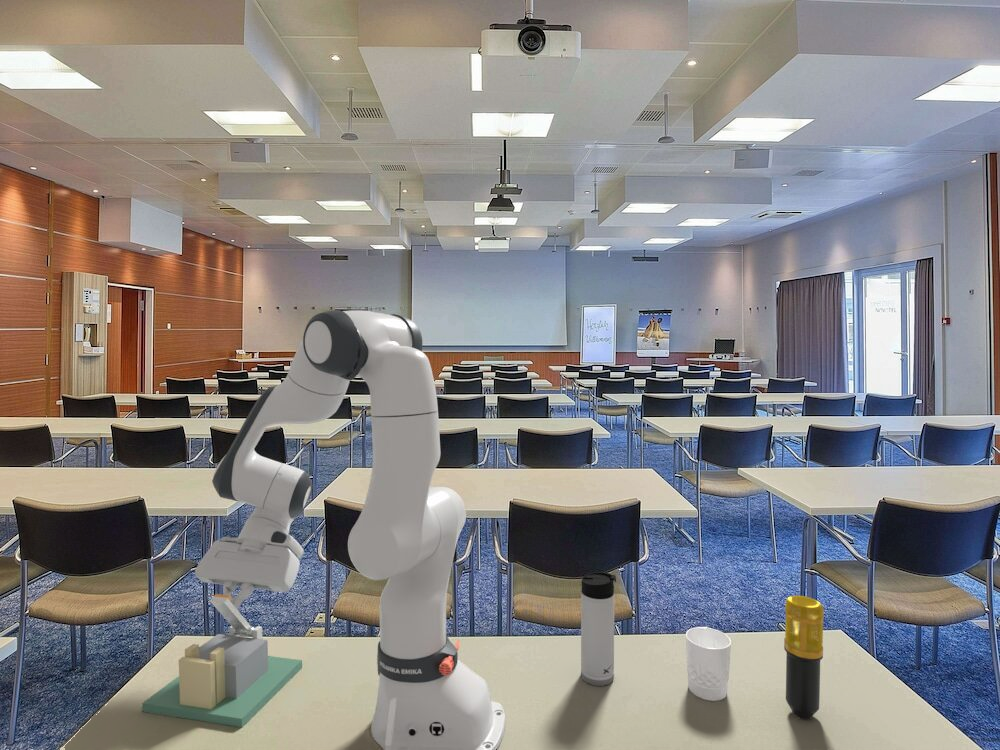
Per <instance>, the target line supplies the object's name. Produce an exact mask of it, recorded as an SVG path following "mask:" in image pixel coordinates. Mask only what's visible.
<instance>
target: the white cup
mask: <svg viewBox="0 0 1000 750" xmlns="http://www.w3.org/2000/svg"><path fill="white" fill-rule="evenodd" d="M731 649H732V640H731V638H730V636H728V635H727V634H726V633H725V632H722V631H721V630H718V629H715V628H710V627H706V626H701V627H700V626H697V627H691V628H690V629H688V630H687V631H686V632H685V651H686V652H685V656H686V670H687V672H686V673H687V687H688V689H689V690H690V691H689V692H691V693H692V694H693V695H694V696H696V697H698V698H699V699H702V700H705V701H709V702H711V701H712V702H714V701H715V702H716V701H722V700H723V699H725V698H727V695H728V684H729V678H730V676H729V675H730V668H731V667H730V666H731V651H732V650H731Z"/></svg>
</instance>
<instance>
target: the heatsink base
mask: <svg viewBox="0 0 1000 750" xmlns="http://www.w3.org/2000/svg"><path fill="white" fill-rule="evenodd" d="M253 628H254V629H253V630H252V633H253V637H248V636H240V635H236V634H235V629H234V628H233V627H232V626H231V625H230V626H229V627H228V630H229V631H228V633H229V634H221V633H220V634H219V633H218V634H216V635H215V636H213V637H212V638H210V639H208V640H207V641H206V642H204V643H203V644H202V645H199V644H195V643H193V644H191V645H189V647H187V648H185V649H184V656H182V657H180V658H179V659H178V676H177V677H175V679H173V680H171V681H170V682H169V683H168V684H166V685H164V686H163V687H162V688H161V689H159V690H158V691H156V692H155V693H153V694H152V695H151V696H150V697H148V698H147V699H145V700H144V701H143V702H142V703H141V704H142V705H141V706H142V707H141V709H142V712H143V711H145V713H149V712H150V714H157V715H161V716H162V715H163V716H169V717H175V718H181V719H187V720H192V721H193V720H195V721H200V722H205V723H212V724H218V725H225V726H230V727H235V728H237V727H238V728H243V727H244V726H245V725H246V724H247V723H248V722H249V721H251V719H252V718H253V717H254V716H255V715H256V714H257V713H258V712H260V710H261V709H262V708H264V707H265V705H267V704H268V702H269V701H270V700H272V698H273V697H274V696H276V695H277V694H278V693H279V691H280V690H281V689H282V688H284V686H285V685H286V684H288V682H290V681H291V679H292V678H294V677H295V676H296V675H297V674H298V673H299V671H301V669H302V668H303V660H302V659H295V658H294V659H293V658H290V657H289V658H288V657H280V656H273V655H269V651H268V650H269V648H268V645H269V644H268V639H263V626H260V625H257V626H256V627H253Z"/></svg>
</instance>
